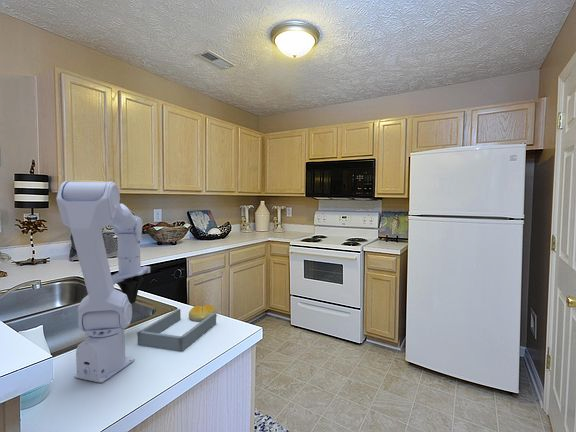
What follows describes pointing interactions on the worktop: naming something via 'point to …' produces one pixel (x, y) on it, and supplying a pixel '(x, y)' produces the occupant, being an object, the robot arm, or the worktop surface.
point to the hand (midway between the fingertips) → (130, 302)
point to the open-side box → (179, 343)
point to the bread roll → (201, 312)
